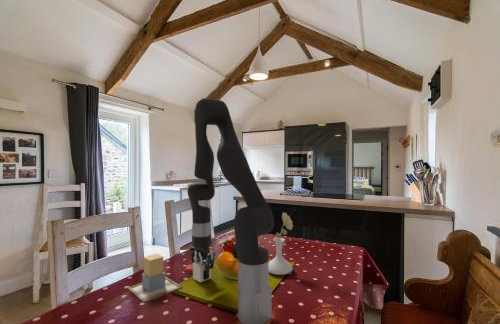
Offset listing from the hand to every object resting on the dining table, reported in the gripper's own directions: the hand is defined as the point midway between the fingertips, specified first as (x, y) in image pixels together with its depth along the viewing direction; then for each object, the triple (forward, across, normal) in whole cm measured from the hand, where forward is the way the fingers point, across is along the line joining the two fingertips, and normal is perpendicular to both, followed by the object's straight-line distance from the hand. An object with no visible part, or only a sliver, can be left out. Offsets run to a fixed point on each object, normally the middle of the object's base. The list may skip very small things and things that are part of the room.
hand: (202, 276), depth 99 cm
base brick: (+1, -7, -16) cm, 18 cm away
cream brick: (+1, 0, 0) cm, 1 cm away
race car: (+2, -13, +4) cm, 13 cm away
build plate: (+2, -6, -16) cm, 17 cm away
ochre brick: (-4, -7, -16) cm, 18 cm away
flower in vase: (+2, +16, +29) cm, 33 cm away
